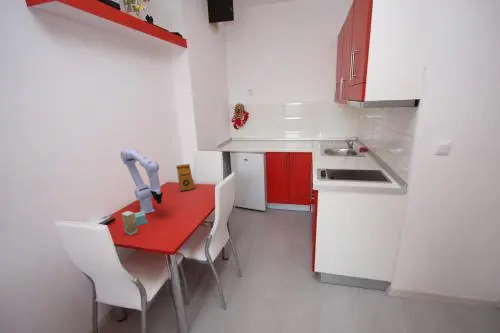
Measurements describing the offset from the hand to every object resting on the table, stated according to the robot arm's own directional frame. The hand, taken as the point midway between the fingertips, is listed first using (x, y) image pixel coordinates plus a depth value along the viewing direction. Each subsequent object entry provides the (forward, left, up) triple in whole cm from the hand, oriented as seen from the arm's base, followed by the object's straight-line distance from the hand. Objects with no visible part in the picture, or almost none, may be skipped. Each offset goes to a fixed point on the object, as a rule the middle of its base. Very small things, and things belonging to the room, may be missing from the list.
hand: (157, 201), depth 155 cm
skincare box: (+12, -19, -10) cm, 24 cm away
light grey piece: (+1, -14, -10) cm, 17 cm away
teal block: (+2, -12, -10) cm, 15 cm away
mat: (+2, -12, -10) cm, 16 cm away
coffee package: (-38, +32, -10) cm, 51 cm away
